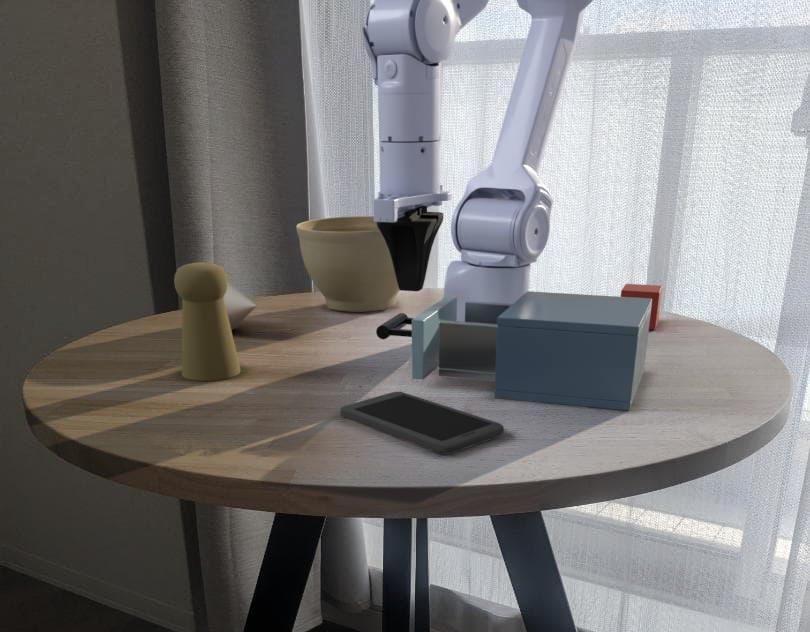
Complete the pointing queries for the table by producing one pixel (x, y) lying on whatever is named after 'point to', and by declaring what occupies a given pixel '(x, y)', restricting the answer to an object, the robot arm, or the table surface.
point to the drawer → (451, 339)
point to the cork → (205, 323)
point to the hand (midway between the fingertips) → (410, 289)
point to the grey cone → (237, 305)
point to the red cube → (646, 292)
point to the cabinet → (572, 349)
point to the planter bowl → (349, 262)
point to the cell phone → (422, 422)
